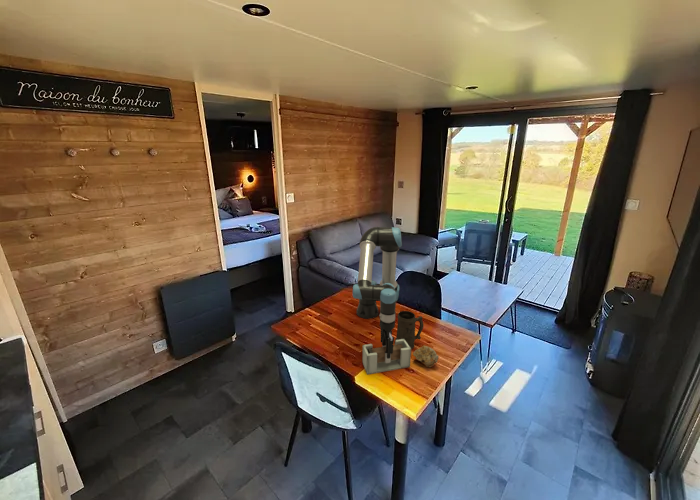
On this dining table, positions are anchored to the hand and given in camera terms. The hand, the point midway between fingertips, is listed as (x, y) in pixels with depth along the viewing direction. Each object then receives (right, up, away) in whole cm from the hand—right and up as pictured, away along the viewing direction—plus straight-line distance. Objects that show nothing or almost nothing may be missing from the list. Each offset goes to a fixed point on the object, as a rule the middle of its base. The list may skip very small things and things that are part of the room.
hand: (386, 359), depth 155 cm
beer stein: (+15, +2, +18) cm, 24 cm away
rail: (0, 0, 0) cm, 0 cm away
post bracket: (0, -3, +1) cm, 4 cm away
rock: (+20, -3, +2) cm, 21 cm away
